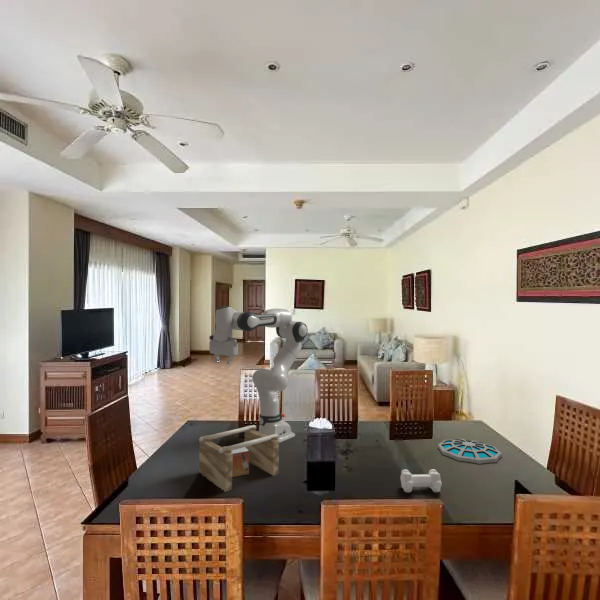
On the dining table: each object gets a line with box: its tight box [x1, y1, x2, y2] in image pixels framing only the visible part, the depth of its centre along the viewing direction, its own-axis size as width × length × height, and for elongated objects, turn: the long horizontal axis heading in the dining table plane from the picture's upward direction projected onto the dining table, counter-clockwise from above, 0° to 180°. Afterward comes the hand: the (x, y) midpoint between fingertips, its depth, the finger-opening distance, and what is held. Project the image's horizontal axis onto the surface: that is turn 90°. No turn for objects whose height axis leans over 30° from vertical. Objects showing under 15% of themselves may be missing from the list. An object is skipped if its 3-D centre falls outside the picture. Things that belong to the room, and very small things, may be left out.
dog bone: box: [399, 468, 443, 494], centre depth 158 cm, size 15×9×8 cm, turn 91°
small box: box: [231, 447, 250, 478], centre depth 174 cm, size 8×6×10 cm
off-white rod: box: [219, 434, 278, 453], centre depth 167 cm, size 30×2×2 cm, turn 130°
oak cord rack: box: [198, 424, 280, 493], centre depth 174 cm, size 27×24×16 cm
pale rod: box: [198, 424, 257, 443], centre depth 181 cm, size 30×2×2 cm, turn 130°
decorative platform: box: [437, 438, 503, 465], centre depth 200 cm, size 31×29×5 cm
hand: (223, 363), depth 200 cm, fingers open, 8 cm apart
